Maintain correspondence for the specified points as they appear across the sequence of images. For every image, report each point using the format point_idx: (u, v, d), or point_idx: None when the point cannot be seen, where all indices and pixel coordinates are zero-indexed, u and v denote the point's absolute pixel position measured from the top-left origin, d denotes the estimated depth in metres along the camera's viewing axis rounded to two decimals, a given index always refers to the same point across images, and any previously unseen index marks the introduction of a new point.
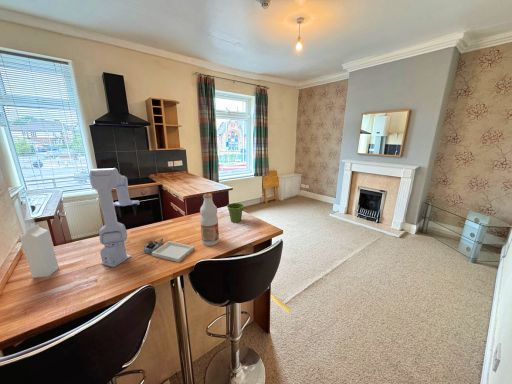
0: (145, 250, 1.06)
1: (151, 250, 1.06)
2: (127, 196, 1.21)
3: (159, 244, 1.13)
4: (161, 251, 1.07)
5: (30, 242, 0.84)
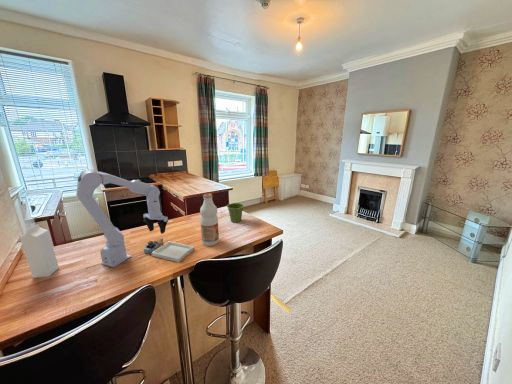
0: (145, 250, 1.06)
1: (151, 250, 1.06)
2: (155, 210, 1.06)
3: (159, 244, 1.13)
4: (161, 251, 1.07)
5: (30, 242, 0.84)
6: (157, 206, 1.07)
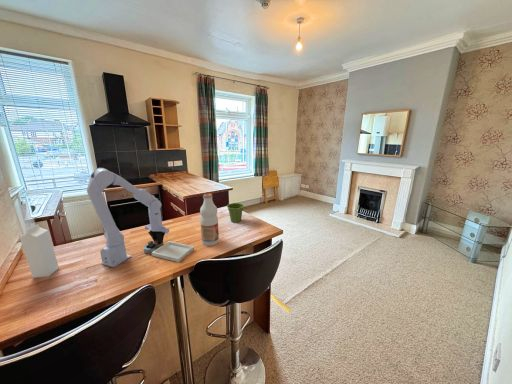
0: (145, 250, 1.06)
1: (151, 250, 1.06)
2: (156, 222, 1.08)
3: (159, 244, 1.13)
4: (161, 251, 1.07)
5: (30, 242, 0.84)
6: (159, 218, 1.08)
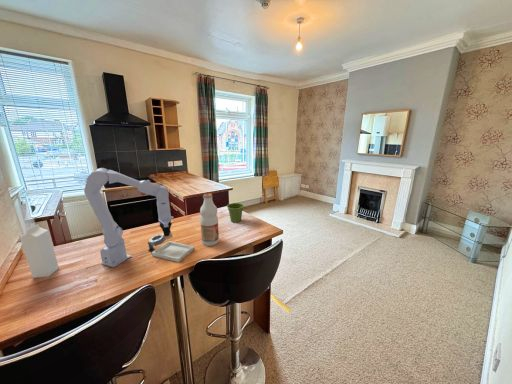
0: (150, 241, 1.06)
1: (152, 243, 1.04)
2: (160, 212, 1.02)
3: (166, 237, 1.08)
4: (161, 251, 1.07)
5: (30, 242, 0.84)
6: (165, 208, 1.02)
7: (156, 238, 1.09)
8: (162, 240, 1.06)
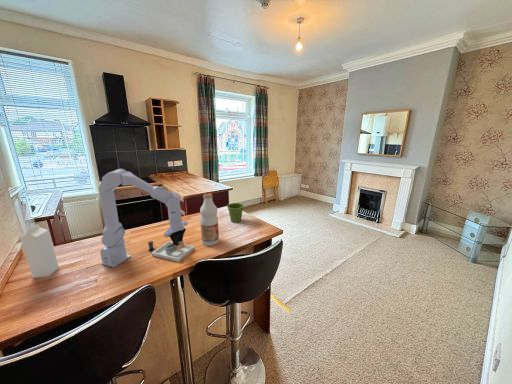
0: None
1: (165, 250, 1.05)
2: (169, 220, 1.00)
3: (177, 247, 1.04)
4: (161, 251, 1.07)
5: (30, 242, 0.84)
6: (176, 218, 0.98)
7: (174, 245, 1.09)
8: (172, 249, 1.04)
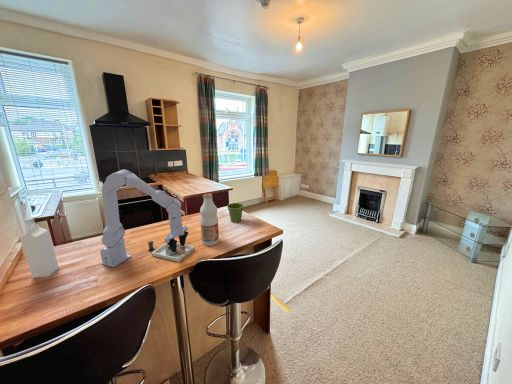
0: None
1: (165, 250, 1.05)
2: None
3: (178, 252, 1.05)
4: (161, 251, 1.07)
5: (30, 242, 0.84)
6: (176, 223, 0.99)
7: None
8: (173, 253, 1.04)
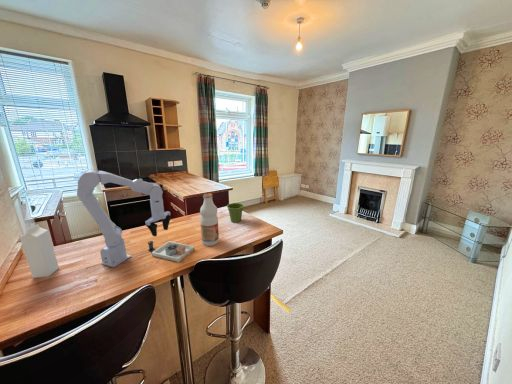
0: None
1: (165, 250, 1.05)
2: (151, 209, 1.03)
3: (178, 252, 1.05)
4: (161, 251, 1.07)
5: (30, 242, 0.84)
6: (159, 206, 1.03)
7: (174, 247, 1.09)
8: (173, 253, 1.04)
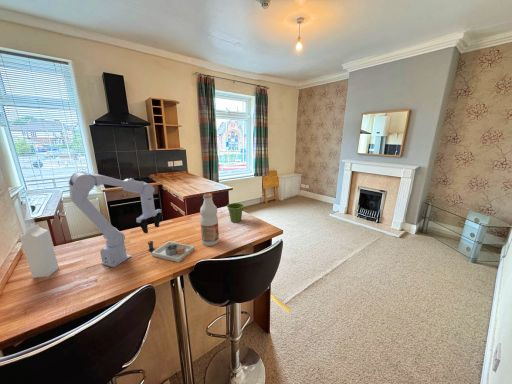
0: None
1: (165, 250, 1.05)
2: (142, 207, 1.06)
3: (178, 252, 1.05)
4: (161, 251, 1.07)
5: (30, 242, 0.84)
6: (151, 204, 1.06)
7: (174, 247, 1.09)
8: (173, 253, 1.04)
